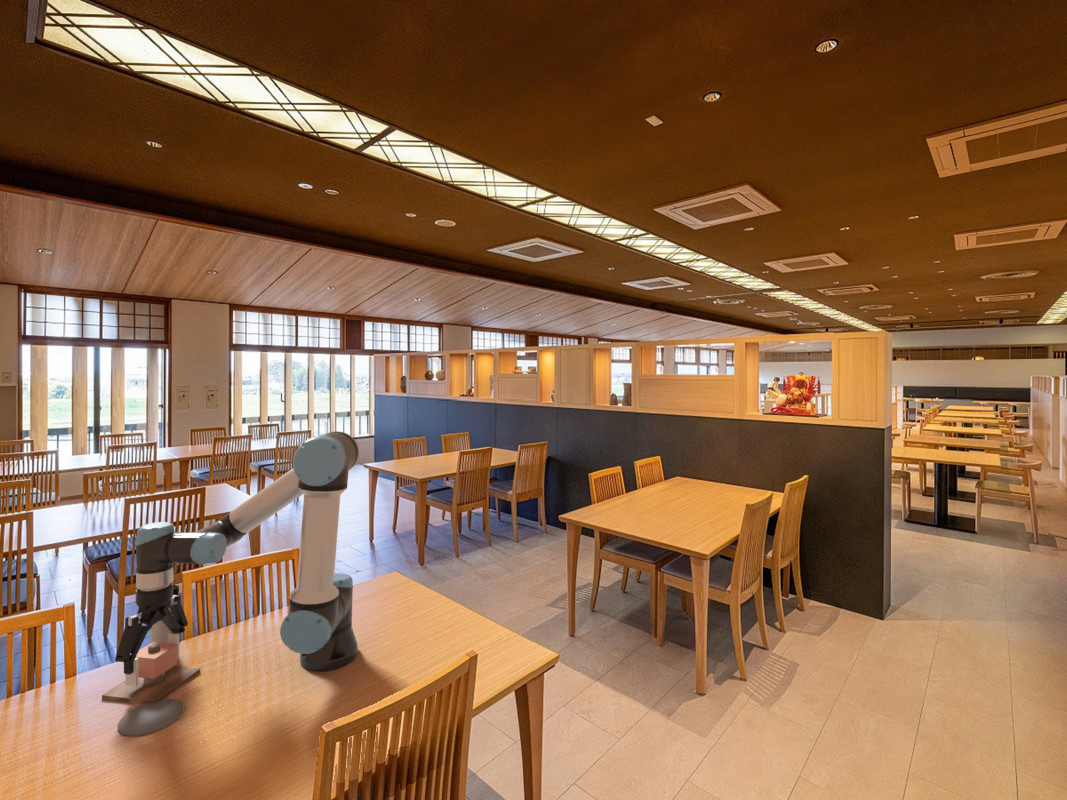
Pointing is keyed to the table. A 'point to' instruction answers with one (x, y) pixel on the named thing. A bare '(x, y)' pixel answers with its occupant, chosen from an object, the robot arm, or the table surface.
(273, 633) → the table surface
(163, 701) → the mat
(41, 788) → the table surface
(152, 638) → the travel mug
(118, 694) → the brown wooden stand
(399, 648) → the table surface
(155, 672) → the pink block with knob
